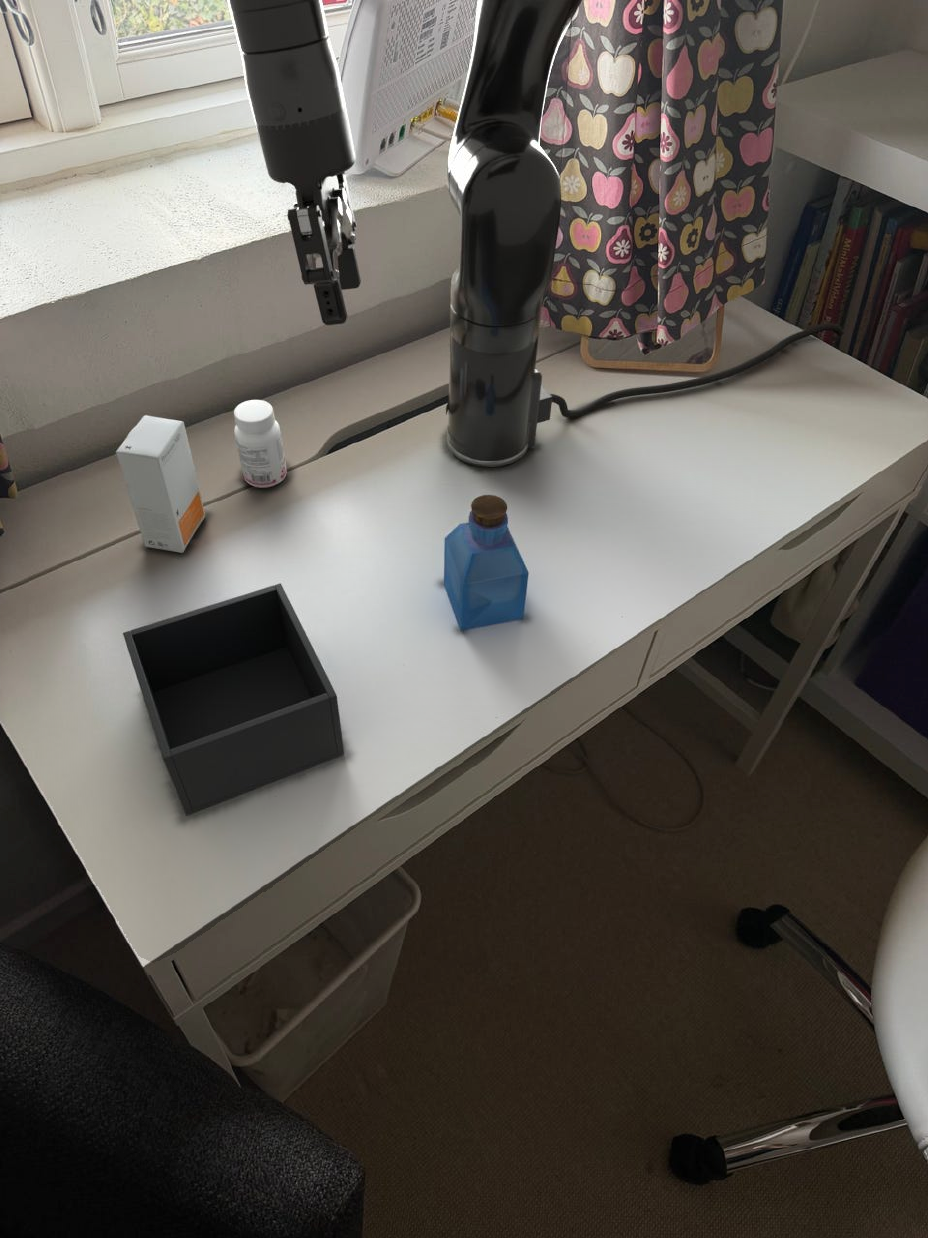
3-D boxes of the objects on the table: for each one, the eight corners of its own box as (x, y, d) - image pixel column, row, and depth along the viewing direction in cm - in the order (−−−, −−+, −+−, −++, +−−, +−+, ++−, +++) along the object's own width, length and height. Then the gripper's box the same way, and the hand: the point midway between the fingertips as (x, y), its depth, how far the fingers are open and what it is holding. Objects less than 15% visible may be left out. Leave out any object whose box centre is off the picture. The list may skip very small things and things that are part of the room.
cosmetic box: (184, 554, 88) (157, 458, 79) (144, 547, 89) (112, 451, 80) (208, 515, 92) (184, 419, 83) (169, 509, 93) (142, 413, 84)
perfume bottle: (460, 630, 82) (464, 536, 74) (443, 584, 86) (445, 489, 78) (523, 618, 84) (534, 524, 75) (503, 573, 88) (512, 479, 79)
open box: (291, 644, 81) (280, 582, 75) (344, 754, 73) (337, 695, 67) (146, 693, 77) (122, 632, 71) (186, 816, 69) (163, 759, 63)
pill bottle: (266, 455, 99) (255, 391, 93) (296, 473, 97) (287, 409, 91) (234, 476, 97) (220, 411, 90) (263, 494, 95) (251, 429, 88)
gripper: (329, 123, 66) (372, 331, 76) (356, 84, 77) (391, 272, 87) (233, 136, 67) (289, 340, 77) (273, 96, 78) (318, 281, 88)
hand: (343, 304), depth 82 cm, fingers open, 8 cm apart
